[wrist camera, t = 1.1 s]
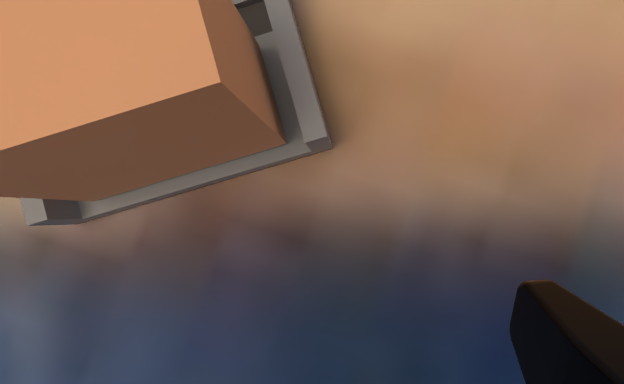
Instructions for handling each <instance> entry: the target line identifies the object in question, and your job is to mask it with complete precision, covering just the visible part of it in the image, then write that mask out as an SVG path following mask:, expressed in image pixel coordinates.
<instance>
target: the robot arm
mask: <svg viewBox="0 0 624 384" xmlns="http://www.w3.org/2000/svg"><path fill="white" fill-rule="evenodd" d="M510 335H511V340H512V343H513V346H514V349H515V352H516V355H517V358H518V361H519V364H520V367H521V370H522V373H523V377H524V380H525V383H526V384H624V325H622V324H621V323H619V322H617V321H616V320H614V319H613V318H611V317H609V316H608V315H606V314H605V313H603V312H601V311H600V310H598V309H597V308H595V307H593V306H592V305H590V304H589V303H587V302H586V301H584V300H582V299H581V298H579V297H578V296H576V295H574V294H573V293H571V292H570V291H568V290H566V289H565V288H563V287H562V286H560V285H559V284H557V283H555V282H553V281H551V280H534V281H525V282H522V283H521V284H520V285H519V287H518V289H517V293H516V298H515V302H514V307H513V312H512V317H511V322H510Z"/></svg>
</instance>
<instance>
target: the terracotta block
mask: <svg viewBox="0 0 624 384" xmlns="http://www.w3.org/2000/svg"><path fill="white" fill-rule="evenodd" d="M284 144H287V141H286V138H285V134H284V131H283V127H282V124H281V120H280V117H279V113H278V110H277V106H276V103H275V99H274V96H273V92H272V88H271V85H270V81H269V78H268V74H267V71H266V67H265V64H264V60H263V57H262V53H261V50H260V46H259V44H258V42H257V41H256V39H255V38H254V36H253V34H252V33H251V31H250V30H249V28H248V26H247V25H246V23H245V21H244V20H243V18H242V17H241V15H240V13H239V12H238V10H237V8H236V7H235V5H234V4H233V2H232V0H0V197H16V198H35V199H54V200H74V201H93V202H94V201H97V200H100V199H104V198H107V197H110V196H114V195H117V194H120V193H124V192H127V191H130V190H134V189H137V188H140V187H144V186H147V185H150V184H154V183H157V182H160V181H164V180H167V179H171V178H174V177H177V176H181V175H184V174H187V173H191V172H194V171H197V170H201V169H204V168H207V167H211V166H214V165H217V164H221V163H224V162H227V161H231V160H234V159H237V158H241V157H244V156H247V155H251V154H254V153H258V152H261V151H264V150H268V149H271V148H274V147H278V146H281V145H284Z"/></svg>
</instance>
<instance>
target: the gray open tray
mask: <svg viewBox="0 0 624 384" xmlns="http://www.w3.org/2000/svg"><path fill="white" fill-rule="evenodd" d="M232 2H233V4H234V5H235V7H236V8H237V10H238V12H239V13H240V15H241V17H242V18H243V20H244V21H245V23H246V25H247V26H248V28H249V30H250V31H251V33H252V34H253V36H254V38H255V39H256V41H257V42H258V44H259V46H260V50H261V53H262V57H263V60H264V64H265V67H266V71H267V74H268V78H269V81H270V85H271V88H272V92H273V96H274V99H275V103H276V106H277V110H278V113H279V117H280V120H281V124H282V127H283V131H284V134H285V138H286V141H287V144H284V145H281V146H278V147H274V148H271V149H268V150H264V151H261V152H258V153H254V154H251V155H247V156H244V157H241V158H237V159H234V160H231V161H227V162H224V163H221V164H217V165H214V166H211V167H207V168H204V169H201V170H197V171H194V172H191V173H187V174H184V175H181V176H177V177H174V178H171V179H167V180H164V181H160V182H157V183H154V184H150V185H147V186H144V187H140V188H137V189H134V190H130V191H127V192H124V193H120V194H117V195H114V196H110V197H107V198H104V199H100V200H97V201H94V202H93V201H74V200H54V199H35V198H20V200H21V204H22V209H23V213H24V217H25V221H26V225H27V226H35V225H68V224H79V223H82V222H86V221H89V220H93V219H96V218H99V217H103V216H106V215H109V214H113V213H116V212H120V211H123V210H126V209H130V208H133V207H136V206H140V205H143V204H147V203H150V202H153V201H157V200H160V199H164V198H167V197H170V196H174V195H177V194H180V193H184V192H187V191H191V190H194V189H197V188H201V187H204V186H207V185H211V184H214V183H218V182H221V181H224V180H228V179H231V178H234V177H238V176H241V175H245V174H248V173H251V172H255V171H258V170H261V169H265V168H268V167H272V166H275V165H278V164H282V163H285V162H288V161H292V160H295V159H299V158H302V157H305V156H309V155H312V154H315V153H319V152H322V151H326V150H329V149H332V148H333V147H332V143H331V140H330V136H329V133H328V130H327V126H326V123H325V119H324V116H323V112H322V109H321V105H320V102H319V98H318V95H317V92H316V88H315V85H314V81H313V78H312V74H311V71H310V67H309V64H308V60H307V57H306V54H305V50H304V47H303V43H302V40H301V36H300V33H299V29H298V26H297V22H296V19H295V15H294V12H293V9H292V5H291V2H290V0H232Z"/></svg>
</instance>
